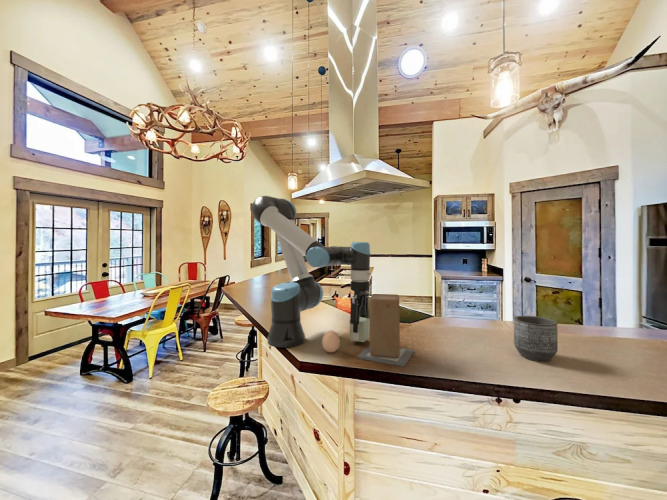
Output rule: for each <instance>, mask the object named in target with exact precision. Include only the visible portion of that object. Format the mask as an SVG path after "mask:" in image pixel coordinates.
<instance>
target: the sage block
mask: <svg viewBox="0 0 667 500" xmlns="http://www.w3.org/2000/svg"><path fill="white" fill-rule="evenodd" d="M359 324H360V341H358V342H359V343H360V342H361V343H365V342H366V341H367V340H369V339H370V317H369V318H364V317H360V319H359ZM349 341H353V342H356V341H355V340H353V324H351V323H350V322H349Z"/></svg>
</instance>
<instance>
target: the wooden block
mask: <svg viewBox="0 0 667 500" xmlns="http://www.w3.org/2000/svg"><path fill="white" fill-rule="evenodd" d="M368 313H369V345H370V354H371V355H372V356H381V357H394V358H397V357H399V355H400V348H401V344H400V343H401V341H400V340H401V337H400V336H401V334H400V333H401V331H400V323H401V322H400V296H399V295H398V294H389V293H388V294H386V293H385V294H384V293H380V294H379V293H373V294H372V295H371V296H370V298H369V299H368Z"/></svg>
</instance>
